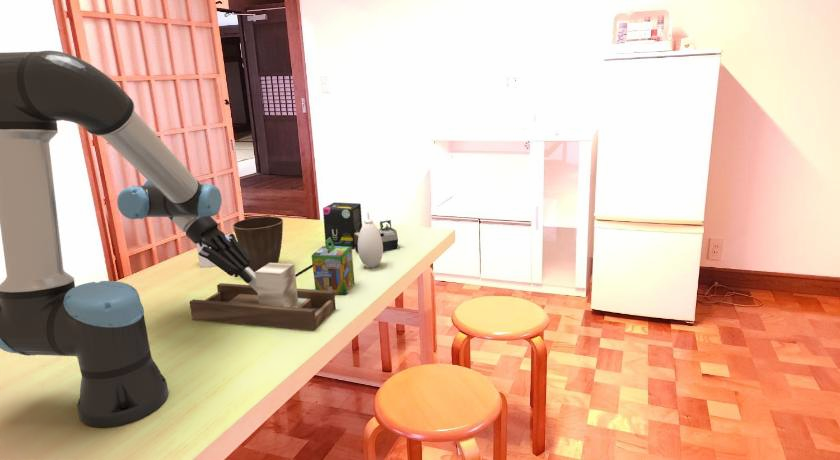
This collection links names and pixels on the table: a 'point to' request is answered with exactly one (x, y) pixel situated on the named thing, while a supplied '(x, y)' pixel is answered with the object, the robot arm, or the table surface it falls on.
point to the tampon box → (342, 223)
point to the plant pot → (260, 239)
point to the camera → (383, 237)
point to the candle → (204, 259)
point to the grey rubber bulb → (370, 244)
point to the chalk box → (333, 268)
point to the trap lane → (264, 308)
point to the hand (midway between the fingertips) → (261, 288)
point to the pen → (303, 270)
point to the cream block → (276, 285)
